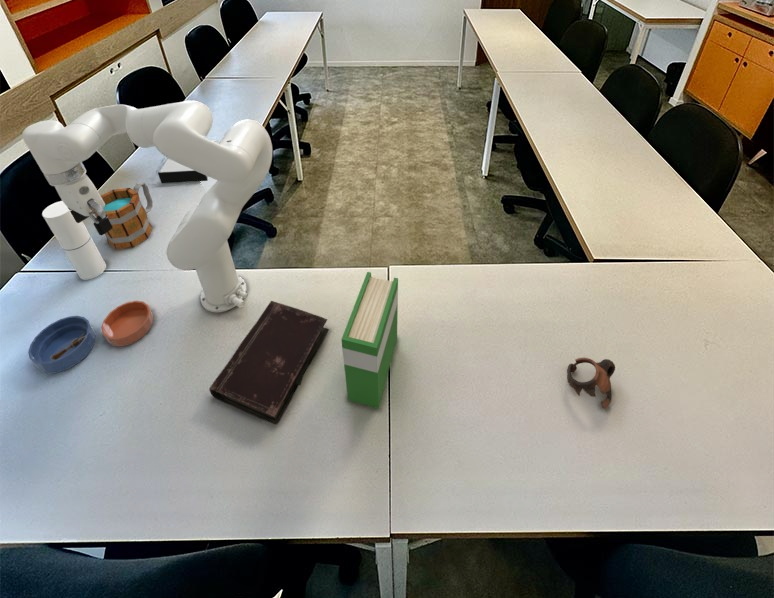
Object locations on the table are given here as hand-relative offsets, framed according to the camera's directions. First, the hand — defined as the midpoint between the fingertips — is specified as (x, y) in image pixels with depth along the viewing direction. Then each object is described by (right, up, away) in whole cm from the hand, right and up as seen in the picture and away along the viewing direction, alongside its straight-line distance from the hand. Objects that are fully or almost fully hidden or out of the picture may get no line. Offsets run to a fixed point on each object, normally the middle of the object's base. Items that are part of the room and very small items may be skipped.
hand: (94, 225), depth 108 cm
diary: (+47, -34, -2) cm, 58 cm away
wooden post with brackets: (-8, -31, 0) cm, 32 cm away
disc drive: (-6, +12, +68) cm, 70 cm away
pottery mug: (+123, -37, -7) cm, 129 cm away
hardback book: (+71, -35, -3) cm, 79 cm away
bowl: (-8, -32, +1) cm, 33 cm away
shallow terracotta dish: (+5, -28, +6) cm, 30 cm away
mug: (-11, -8, +38) cm, 40 cm away
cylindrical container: (-16, -18, +23) cm, 33 cm away
